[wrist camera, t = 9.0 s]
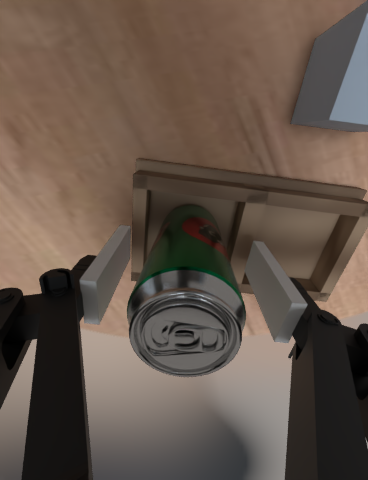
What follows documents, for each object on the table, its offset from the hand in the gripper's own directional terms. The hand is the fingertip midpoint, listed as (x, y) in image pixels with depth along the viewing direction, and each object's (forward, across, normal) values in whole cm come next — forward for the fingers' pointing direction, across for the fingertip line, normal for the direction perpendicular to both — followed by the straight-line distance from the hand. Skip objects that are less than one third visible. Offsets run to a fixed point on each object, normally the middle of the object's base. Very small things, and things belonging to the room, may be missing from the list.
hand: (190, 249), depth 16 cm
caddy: (+5, +4, 0) cm, 6 cm away
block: (+5, +9, +12) cm, 16 cm away
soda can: (+4, 0, 0) cm, 4 cm away
